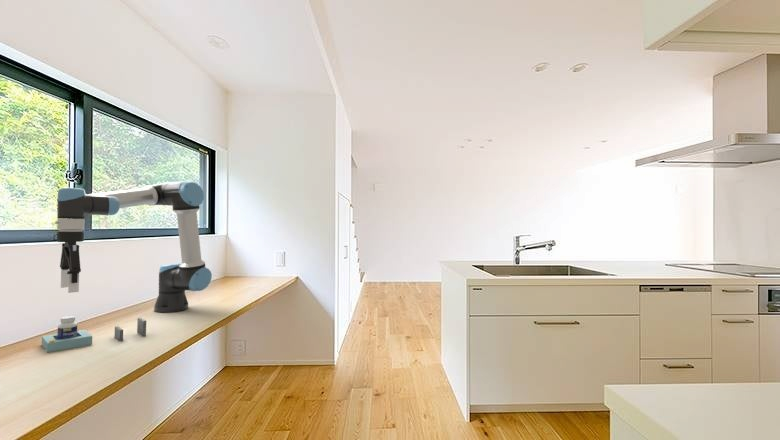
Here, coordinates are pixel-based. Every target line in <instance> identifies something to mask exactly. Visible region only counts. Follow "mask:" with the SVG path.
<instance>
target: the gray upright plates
mask: <svg viewBox="0 0 780 440" xmlns="http://www.w3.org/2000/svg"><path fill="white" fill-rule="evenodd" d="M136 326H137V327H136V333H137V334H138V336H139V335H140V336H141V337H146V336H147V320H146V319H144V318H142V317H137V325H136ZM114 338H115V339H116V340H118V341H119V342H123V340H124V329H122V327H120V326H118V325H117V326H114Z"/></svg>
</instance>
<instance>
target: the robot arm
mask: <svg viewBox="0 0 780 440" xmlns="http://www.w3.org/2000/svg"><path fill="white" fill-rule="evenodd" d="M203 201H205V193H204V190H203V188H202V187H201V186H200V185H199V183H196V182H193V181H186V180H185V181H168V182H163V183H162V182H161V183H157V184H151V185H145V186H144V187H142V188H135V189H127V190H126V189H125V190H115V191H108V192H99V193H98V192H96V193H89V194H87V193H86V190H85V189H84V188H79V187H78V188H77V187H61V188H59V189H58V191H57V198H56V203H57V212H56V213H57V215H56V217H57V219H56V220H57V221H55V222H54V224H55V225H56V230H58V231H57V232H56V241H57V242H58V243H62V244H61V246H62V247H61V255H60V263H59V267H60V289H61V288H68V289H67V293H69V294H71V293H79V291H80V273H81V272H82V269H81V260H80V245H79V244H77V243H81V242H84V241H85V231H84V230H85V226H86V225H85V217H86V216H87V215H88V216H89V215H90V216H114V215H116V214H117V213H118V212H119V210H120V209H125V208H132V207H137V206H138V207H139V206H143V205H148V206H150V207H153V206H171V207H172V211H173V212H174V213H175V214H176V219H177V228H178V229H177V230H178V238H179V239H178V240H179V248H180V256H181V257H180V258H181V262H180V263H172V264H165V265H160V267H159V272H158V296H157V298H156V301H155V304H154V306H153V311H154V312H155V313H176V312H180V311H181V312H182V311H186V310H188V309H189V300H188V298H187V296H186V291H191V292H202V291H204V290H205V289H207V288H208V287H209V284H211V281H212V271H211V270H210V269H209V268H208V267H206V261H204V260H203V259H202V251H201V242H200V233H199V222H198V214H197V213H198V211H199V210H200V209H201V207H200V205H201V204H203Z"/></svg>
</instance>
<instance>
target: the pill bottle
mask: <svg viewBox="0 0 780 440" xmlns="http://www.w3.org/2000/svg"><path fill="white" fill-rule="evenodd" d="M77 331H78V323H77V322H76V316H75V315H67V316H62V317H60V323H59V324H58V325H57V334H58V335H57V340H61V339H67V338H73V337H77Z"/></svg>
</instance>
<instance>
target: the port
mask: <svg viewBox="0 0 780 440" xmlns="http://www.w3.org/2000/svg"><path fill="white" fill-rule="evenodd" d="M57 335H58V333H54V334H46V335H41V346H42V347H43V348H44V351H46V353H53V352H58V351H62V350H68V349H73V348H79V347H84V346H90V345H92V344H93V335H92V334H91V333H90V332H88V331H87V330H86V329H80V330H78V329H77V337H73V338H67V339H61V340H57Z"/></svg>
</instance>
